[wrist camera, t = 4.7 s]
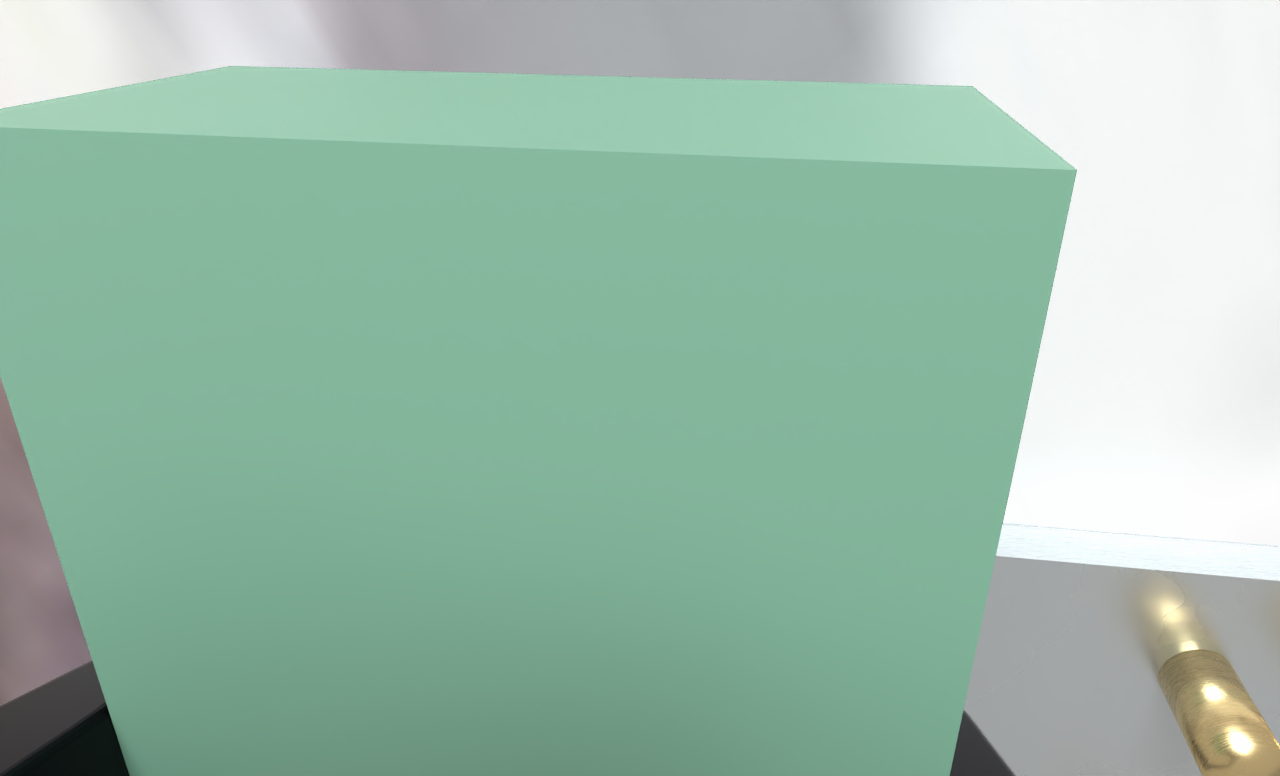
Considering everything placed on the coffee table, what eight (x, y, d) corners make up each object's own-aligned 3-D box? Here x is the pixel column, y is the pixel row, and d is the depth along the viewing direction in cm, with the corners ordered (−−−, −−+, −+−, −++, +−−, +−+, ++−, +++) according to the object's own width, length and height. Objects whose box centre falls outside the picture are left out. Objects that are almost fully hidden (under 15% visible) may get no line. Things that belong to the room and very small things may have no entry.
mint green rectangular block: (838, 948, 11) (846, 1265, 8) (372, 869, 12) (245, 1133, 9) (972, 86, 7) (1076, 169, 4) (230, 65, 8) (-82, 125, 5)
